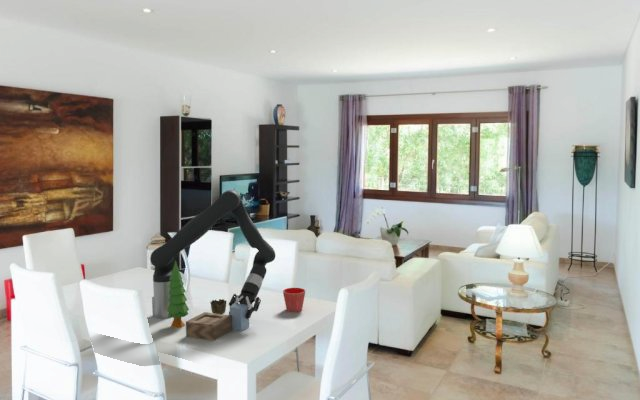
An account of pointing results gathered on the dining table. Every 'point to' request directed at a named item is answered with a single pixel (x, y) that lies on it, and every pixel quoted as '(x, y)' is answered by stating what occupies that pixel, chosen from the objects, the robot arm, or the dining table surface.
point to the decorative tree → (177, 298)
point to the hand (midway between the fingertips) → (238, 317)
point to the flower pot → (294, 299)
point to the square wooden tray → (209, 326)
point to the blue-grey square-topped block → (239, 317)
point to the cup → (218, 306)
